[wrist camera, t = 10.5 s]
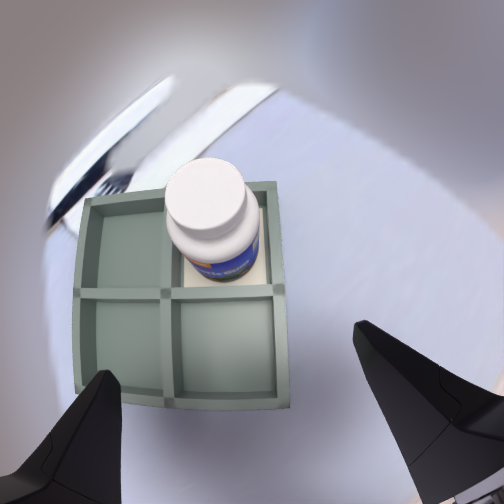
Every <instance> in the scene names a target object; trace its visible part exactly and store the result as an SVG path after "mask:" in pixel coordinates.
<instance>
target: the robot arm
mask: <svg viewBox="0 0 504 504" xmlns="http://www.w3.org/2000/svg"><path fill="white" fill-rule="evenodd" d="M353 343H354V346H355V349H356V352H357V355H358V357H359V360H360V363H361V366H362V368H363V371H364V374H365V377H366V379H367V381H368V384H369V386H370V388H371V390H372V392H373V394H374V396H375V398H376V400H377V402H378V404H379V406H380V408H381V410H382V412H383V415H384V417H385V419H386V421H387V423H388V425H389V427H390V429H391V432H392V434H393V436H394V438H395V440H396V442H397V445H398V447H399V449H400V451H401V453H402V456H403V458H404V460H405V462H406V465H407V467H408V470H409V472H410V474H411V477H412V479H413V481H414V484H415V486H416V488H417V491H418V493H419V496H420V498H421V501H422V503H423V504H439V503H441V502H443V501H446V500H448V499H450V498H452V497H454V499H455V502H453V504H504V396H500V395H496V394H494V393H492V392H489V391H487V390H485V389H483V388H481V387H479V386H476V385H474V384H472V383H470V382H468V381H466V380H464V379H462V378H460V377H458V376H457V375H455V374H453V373H451V372H450V371H448V370H446V369H445V368H443V367H441V366H439V365H438V364H436V363H435V362H433V361H432V360H430V359H428V358H427V357H425V356H424V355H422V354H420V353H419V352H417V351H416V350H414V349H412V348H411V347H409V346H407V345H406V344H404V343H403V342H401V341H399V340H398V339H396V338H395V337H393V336H391V335H390V334H388V333H386V332H385V331H383V330H382V329H380V328H378V327H377V326H375V325H374V324H372V323H370V322H369V321H367V320H362V321H359V322H356V323H355V324H354V331H353ZM121 433H122V408H121V385H120V383H119V381H118V380H117V378H116V377H115V376H114V374H113V373H112V372H111V371H110V370H108V369H106V370H99V371H98V372H97V374H96V375H95V376H94V377H93V378H92V380H91V381H90V382H89V383H88V385H87V386H86V387H85V388H84V389H83V391H82V392H81V393H80V394H79V396H78V397H77V398H76V399H75V401H74V402H73V403H72V404H71V406H70V407H69V408H68V409H67V411H66V412H65V413H64V414H63V416H62V417H61V418H60V420H59V421H58V422H57V423H56V425H55V426H54V427H53V429H52V430H51V432H49V434H48V435H47V436H46V438H45V439H44V440H43V442H42V443H41V444H40V445H39V446H38V447H37V449H36V450H35V451H34V452H33V453H32V454H31V455H30V457H29V458H28V459H27V460H26V461H25V462H24V463H23V464H22V465H21V467H20V468H19V469H18V470H17V471H15V472H14V473H12V474H10V475H7V476H2V477H0V504H121Z"/></svg>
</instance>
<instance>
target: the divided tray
mask: <svg viewBox="0 0 504 504" xmlns="http://www.w3.org/2000/svg"><path fill="white" fill-rule="evenodd" d="M245 184H246V185H247V186H248V187H249V188H250V189H251V191H252V192H253V194H254V195H255V197H256V199H257V202H258V206H259V211H260V231H259V251H258V256H257V259H256V261H255V263H254V265H253V267H252V268H251V270H250V271H249V272H248V273H247V274H245V275H244V276H243V277H241V278H239V279H237V280H235V281H231V282H215V281H212V280H209V279H207V278H205V277H204V276H202V275H201V274H200V273H199V272H198V271H197V270H196V269H195V268H194V267H193V265H192V264H191V263H190V262H189V261H188V260H187V259H186V257H185V256H184V255H183V254H182V253H181V252H180V251H179V250H178V248H177V247H176V246H175V244H174V243H173V241H172V240H171V238H170V236H169V233H168V230H167V224H166V216H167V208H166V204H165V191H166V188H164V189H154V190H145V191H137V192H129V193H121V194H114V195H106V196H99V197H93V198H86V199H85V202H84V207H83V212H82V218H81V224H80V231H79V238H78V245H77V254H76V263H75V274H74V287H73V307H72V351H73V371H74V384H75V394H80V393H81V392H82V391H83V389H84V388H85V387H86V386H87V385H88V383H89V382H90V381H91V380H92V378H93V377H94V376H95V375H96V374H97V372H98V371H99V370H106V369H108V370H110V371H111V372H112V373H113V374H114V376H115V377H116V378H117V380H118V381H119V383H120V385H121V403H128V404H135V405H143V406H152V407H162V408H174V409H189V410H220V411H238V410H268V409H284V408H290V391H289V364H288V341H287V321H286V303H285V286H284V271H283V256H282V243H281V230H280V217H279V205H278V193H277V182H276V181H265V182H245Z"/></svg>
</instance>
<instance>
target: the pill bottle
mask: <svg viewBox="0 0 504 504" xmlns="http://www.w3.org/2000/svg"><path fill="white" fill-rule="evenodd" d="M165 204H166V208H167V216H166V224H167V230H168V233H169V236H170V238H171V240H172V241H173V243H174V244H175V246H176V247H177V248H178V250H179V251H180V252H181V253H182V254H183V255H184V256H185V257H186V259H187V260H188V261H189V262H190V263H191V264H192V265H193V267H194V268H195V269H196V270H197V271H198V272H199V273H200V274H201V275H202V276H204V277H205V278H207V279H209V280H212V281H215V282H231V281H235V280H237V279H239V278H241V277H243V276H244V275H245V274H247V273H248V272H249V271H250V270H251V268H252V267H253V265H254V263H255V261H256V259H257V256H258V251H259V231H260V211H259V206H258V202H257V199H256V197H255V195H254V194H253V192H252V191H251V189H250V188H249V187H248V186H247V185H246V184H245V182H244V179H243V177H242V175H241V173H240V172H239V171H238V170H237V169H236V168H235V167H234V166H233V165H232V164H230V163H228V162H226V161H224V160H221V159H217V158H201V159H196V160H193V161H191V162H189V163H187V164H185V165H183V166H182V167H180V168H179V169H178V170H177V171H176V172H175V173H174V174H173V176H172V177H171V179H170V180H169V182H168V184H167V187H166V191H165Z"/></svg>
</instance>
